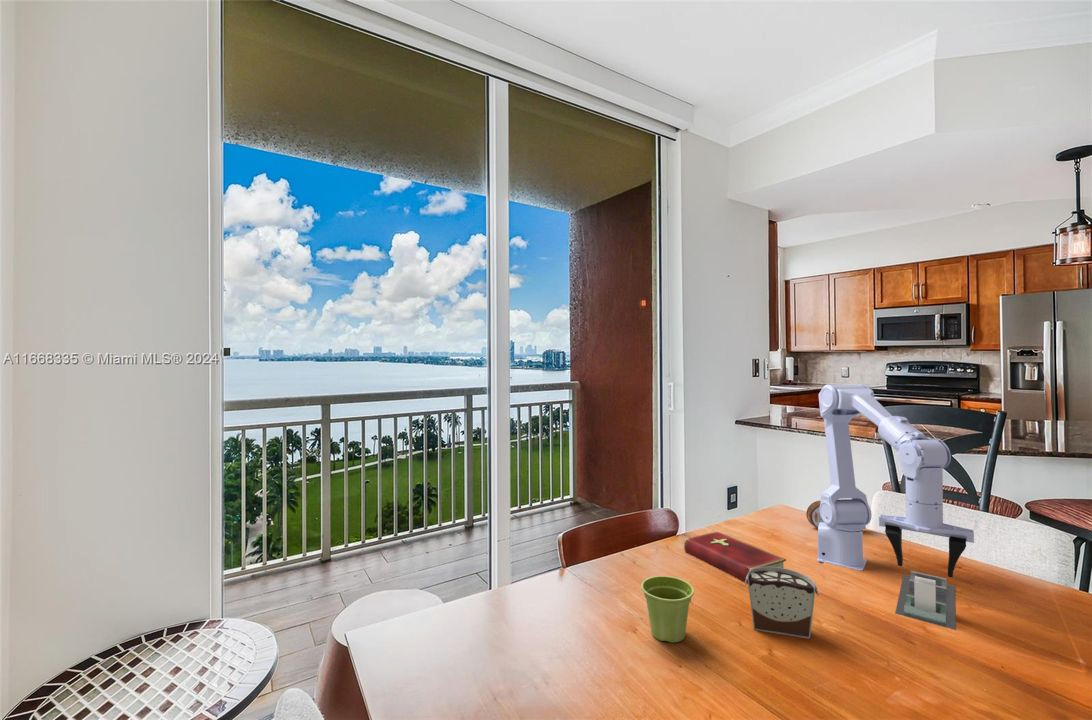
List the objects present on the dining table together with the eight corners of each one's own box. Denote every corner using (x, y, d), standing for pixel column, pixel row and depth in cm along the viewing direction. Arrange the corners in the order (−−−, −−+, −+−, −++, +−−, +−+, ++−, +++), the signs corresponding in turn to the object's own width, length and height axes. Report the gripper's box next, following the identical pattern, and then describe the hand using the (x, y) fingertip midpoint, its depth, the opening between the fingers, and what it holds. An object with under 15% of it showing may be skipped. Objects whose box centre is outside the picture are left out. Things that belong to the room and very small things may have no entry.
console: (895, 615, 93) (895, 605, 93) (903, 575, 110) (903, 567, 110) (955, 631, 87) (955, 621, 87) (954, 587, 104) (954, 578, 104)
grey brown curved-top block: (812, 622, 91) (811, 570, 91) (819, 640, 85) (818, 584, 85) (743, 611, 95) (742, 561, 95) (745, 628, 89) (744, 575, 89)
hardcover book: (750, 587, 106) (750, 568, 106) (684, 553, 125) (683, 537, 125) (786, 576, 112) (785, 558, 112) (717, 545, 130) (717, 530, 130)
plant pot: (665, 655, 82) (665, 604, 82) (631, 628, 90) (631, 582, 90) (705, 640, 86) (705, 592, 86) (669, 615, 94) (669, 571, 94)
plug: (914, 612, 94) (914, 581, 94) (915, 604, 96) (915, 575, 96) (935, 617, 91) (935, 586, 91) (936, 609, 94) (935, 579, 94)
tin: (860, 529, 140) (860, 501, 140) (866, 533, 137) (865, 504, 137) (805, 527, 142) (805, 499, 142) (810, 531, 139) (809, 502, 139)
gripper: (876, 498, 95) (877, 566, 95) (974, 513, 86) (975, 588, 86) (880, 490, 100) (881, 555, 100) (972, 503, 91) (973, 574, 91)
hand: (924, 569), depth 93 cm, fingers open, 7 cm apart
